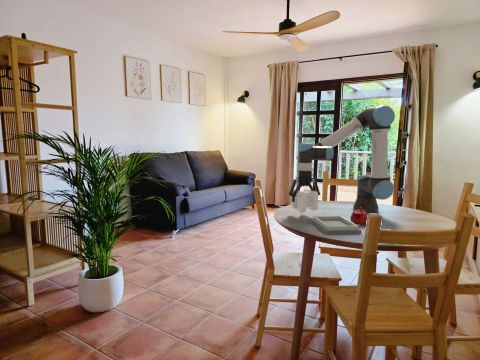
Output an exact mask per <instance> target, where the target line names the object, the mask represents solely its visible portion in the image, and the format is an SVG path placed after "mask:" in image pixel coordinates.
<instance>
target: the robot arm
mask: <svg viewBox="0 0 480 360" xmlns="http://www.w3.org/2000/svg"><path fill="white" fill-rule="evenodd" d="M395 119H396V114H395V111H394V109H393V108H392V107H391V106H389V105H376V106H372V107H367V108H366V109H364V110H363V111H361V112H359V113H357V115H355V116H354V117H353V118H352V119H351V121H349V122H348V123H346V124H345V125H343V126H341V127H340V128H339V129H337V130H336V131H334V132H332V133H330V134H329V135H328V136H325V138H323V139H321V140H320V141H319V142H317V143H315V144H313V143H312V142H301V143H300V144H299V146H298V147H299V148H298V175H297V176H298V178H293V179H292V184H291V186H290V190H289V193H288V196H290V197H291V196H292V202H293V207H294V208H296V197H295V195H296V193H297V192H298V191H300V189H301V188H302V187H308V189H310V190H312V191H316V192H317V193H318V196H321V192H320V188H319V186H318V185H319V184H318V179H317V178H312V174H313V171H312V169H313V161H314V160H315V161H316V160H320V161H321V160H322V161H323V160H324V161H325V160H327V161H328V160H332V159H333V158H334V152H335V151H334V147H336V146H337V145H339V144H341V143H342V142H343V141H345V140H347V139H349V138H350V137H351V136H353V135H354V134H356V133H357V132H362V131H364V130H365V129H368V131H369V132H370V133H371V173H370V174H361V175H358V178H357V190H356V199H355V201H354V204H353V208H352V210H353V211H356V210H358V209H359V210H360V207H362V209H363V210H362V211H364V212H366V213H368V214H373V213H374V214H377V213H378V212H379V205H378V201H377V200H381V201H382V200H388V199H390V198H391V196H393V194H394V192H395V186H394V184H393V183H392V182H391V174H389V172H388V164H389V163H388V154H389V153H388V149H389V147H388V142H389V141H388V139H389V138H388V134H389V132H390V130H391V128H392V127H391V126H392V125H393V123H394V121H395ZM297 182H298V184H297ZM312 183H313V185H314V187H313V186H312ZM294 190H295V191H294ZM293 191H294V192H293ZM354 209H356V210H354Z"/></svg>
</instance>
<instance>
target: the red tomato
mask: <svg viewBox="0 0 480 360" xmlns="http://www.w3.org/2000/svg"><path fill="white" fill-rule="evenodd" d="M355 210H356V209H354V210H353V211H352V213H351V214H350V218H349V220H350V221H351V222H353V223H354V224H356V225H358V226H367V225H366V220H367V215H369V213H366V212H364V211H362V210H363V209H362V207H360V210H359V209H358V210H356V211H355Z"/></svg>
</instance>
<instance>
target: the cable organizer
mask: <svg viewBox="0 0 480 360" xmlns="http://www.w3.org/2000/svg"><path fill="white" fill-rule="evenodd" d="M294 191H295V189H294ZM294 191H293V192H294ZM295 197H296V208H294V207H293V202H292V196H290V206H291V208H292V209H293V210H295V211H299V213H305V212H306V211H307V210H308V209H309V210H311V211H313V212H315V211H317V210H318V209H319V195H318V193H317V192H316V190H314V191H312V190H310V188H304V189H303V190H302V191H301V190H299V191H298V192H297V193H296V195H295Z"/></svg>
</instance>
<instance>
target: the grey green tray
mask: <svg viewBox="0 0 480 360" xmlns="http://www.w3.org/2000/svg"><path fill="white" fill-rule="evenodd" d="M309 223H311V224H312V225H313V226H314V227H316V228H317V229H319V231H321V232H322V233H324V235H340V234H341V235H350V234H351V235H354V234H355V235H356V234H359V235H360V234H362V229H360V225H356V224H354V223H353V222H351V220H350V219H347V218H346V217H344V216H342V215H313V216H312V218H310V219H309Z"/></svg>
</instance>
